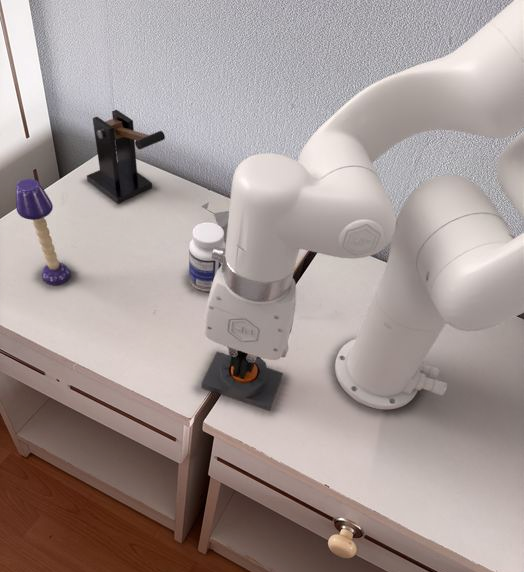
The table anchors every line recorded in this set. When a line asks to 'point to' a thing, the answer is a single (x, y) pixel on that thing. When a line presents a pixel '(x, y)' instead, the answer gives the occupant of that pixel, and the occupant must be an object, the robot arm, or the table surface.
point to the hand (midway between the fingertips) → (241, 369)
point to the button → (246, 376)
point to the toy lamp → (40, 227)
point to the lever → (135, 135)
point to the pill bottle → (204, 254)
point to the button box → (251, 393)
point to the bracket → (116, 176)
